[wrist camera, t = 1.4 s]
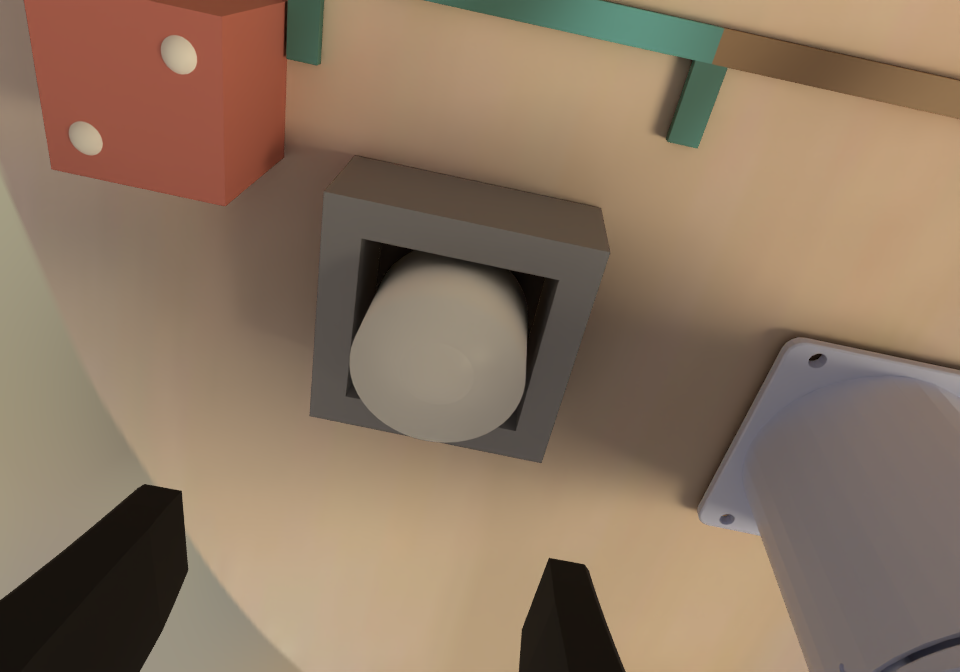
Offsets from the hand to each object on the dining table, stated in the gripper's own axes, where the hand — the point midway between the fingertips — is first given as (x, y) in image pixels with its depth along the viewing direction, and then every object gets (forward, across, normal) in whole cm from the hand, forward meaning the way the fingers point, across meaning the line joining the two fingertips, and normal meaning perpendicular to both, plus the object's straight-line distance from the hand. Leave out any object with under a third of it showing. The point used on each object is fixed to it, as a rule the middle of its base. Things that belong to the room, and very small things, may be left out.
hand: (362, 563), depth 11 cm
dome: (+9, -1, 0) cm, 9 cm away
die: (+11, +7, -5) cm, 14 cm away
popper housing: (+10, -1, 0) cm, 10 cm away
